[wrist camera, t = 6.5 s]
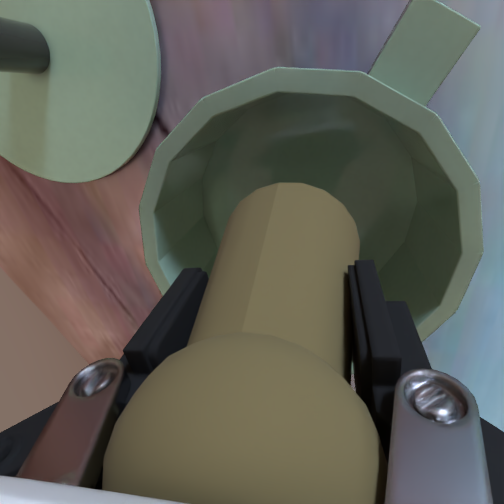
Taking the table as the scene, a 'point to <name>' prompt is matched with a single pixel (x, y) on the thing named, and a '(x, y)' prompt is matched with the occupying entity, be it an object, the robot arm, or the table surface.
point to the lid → (76, 85)
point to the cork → (260, 373)
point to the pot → (334, 165)
